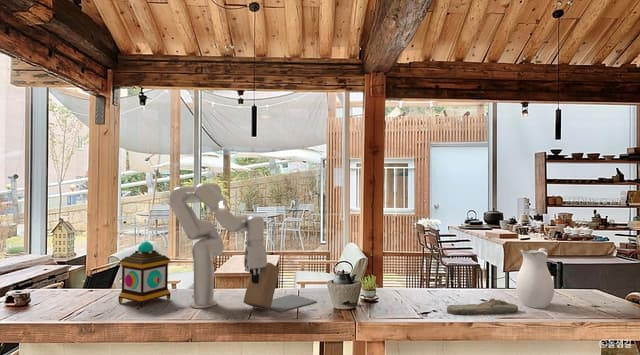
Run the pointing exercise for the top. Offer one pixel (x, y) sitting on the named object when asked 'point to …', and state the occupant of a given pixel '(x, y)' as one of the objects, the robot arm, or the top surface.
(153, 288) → the decorative lantern
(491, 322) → the top surface
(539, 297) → the pitcher
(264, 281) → the wooden block
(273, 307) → the mat
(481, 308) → the long grey stone
